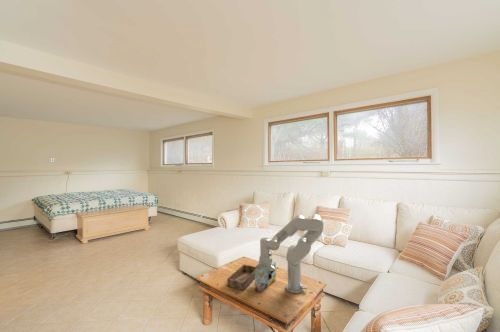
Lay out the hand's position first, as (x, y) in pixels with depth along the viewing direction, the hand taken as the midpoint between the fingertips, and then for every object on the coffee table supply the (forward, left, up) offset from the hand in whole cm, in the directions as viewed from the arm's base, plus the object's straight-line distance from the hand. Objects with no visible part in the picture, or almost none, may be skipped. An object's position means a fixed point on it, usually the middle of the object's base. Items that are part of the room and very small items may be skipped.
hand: (265, 277), depth 178 cm
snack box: (0, 0, -6) cm, 6 cm away
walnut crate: (+19, 0, -6) cm, 20 cm away
